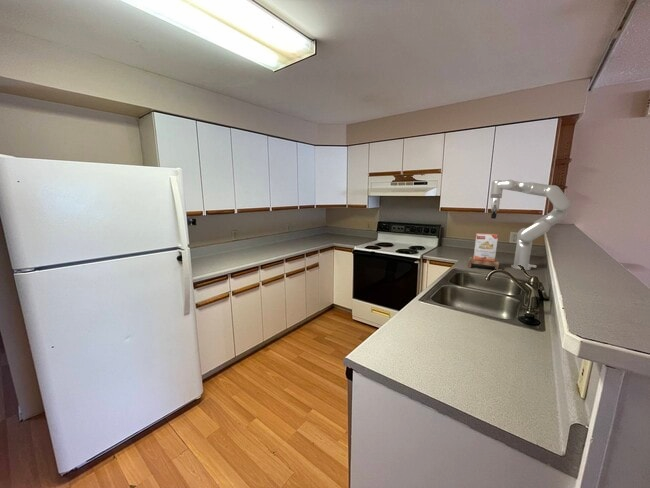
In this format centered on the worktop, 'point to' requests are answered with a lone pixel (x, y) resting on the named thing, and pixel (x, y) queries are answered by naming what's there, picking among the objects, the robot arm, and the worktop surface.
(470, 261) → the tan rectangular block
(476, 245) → the cracker box
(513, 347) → the worktop surface
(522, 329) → the worktop surface
